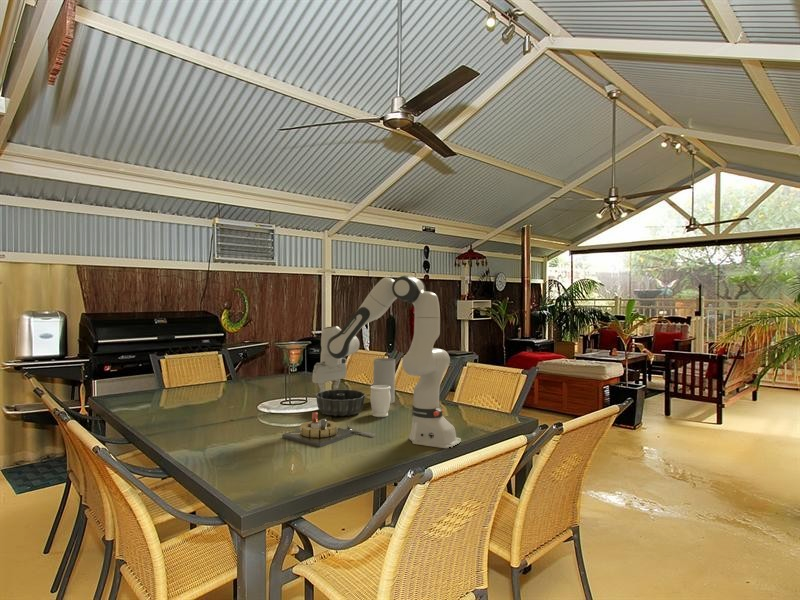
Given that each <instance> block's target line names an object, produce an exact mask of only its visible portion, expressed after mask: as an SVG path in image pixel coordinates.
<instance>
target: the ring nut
mask: <svg viewBox="0 0 800 600" xmlns="http://www.w3.org/2000/svg"><path fill="white" fill-rule="evenodd" d="M318 416H319V414H318V412H316V411H314V412H311V421H306V422H302V423H301V424H300V425H299V429H300V434H301V435H303V436H306V437H317V438H319V437H329V436H332V435H335V434H336V433H337V432H338V428H339V425H338V423H337V422H335V421H332V420H327V419H326V418H321V419H320V420H318ZM313 422H321V428H311V423H313ZM326 425H327V427H326Z"/></svg>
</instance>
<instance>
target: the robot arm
mask: <svg viewBox="0 0 800 600" xmlns="http://www.w3.org/2000/svg"><path fill="white" fill-rule="evenodd" d="M426 290H427V289H426V285H425V283H424V281H423V280H421V278H419V277H415V276H413V275H401V276H399V277H397V278H396V279H394V278H391V277H389V276H388V277H387V276H386V277H383V278H381V279H380V280H379V281H378V282H377V283H376V284H375V285H374V287H373V288H371V290H370V292H369V293H368V294H367V296H366V297H365V298H364V300H363V301H362V304H361V305H360V306H359V307H358V309H357V310H356V311H355V313H353V315H352V316H351V318H350V319H349V320H348V321H347V322H346V323H345V325H344V326H343V328H340V327H339V325H334V326H326V327H324V328H323V329H322V331H321V339H320V347H321V351H320V362H316V363H315V364H314V366H313V370H312V377H311V378H312V379H311V382H312V383H313V384H317V385H318V388H319V392H325V391H326V388H325V387H324V384H325V383H328V382H331V381H335V382H334V384H333V390H336V389H339V385H340V383H341V380H342V379H345V378H346V377H347V373H348V372H347V371H348V370H347V363H348V362H347V361H348V360H347V358H344V357H347V356H350V355H353V354H355V353H357V352H358V351H359V349H360V345H361V342H360V339H359V338H358V337H357V335H358V333H359V332H360V331H361V329H362V328H363V327H364V326H366V325H368V324H369V323H371V322H373V321H376V320H378V319H380V318H381V317H382V316H383V315H385V313H386V312H387V311H388V310H389V308H390V307H391V306H392V304H393V303H394V302H395V301H396V300H397V299H399V300H400V301H403V302H406V303H409V304H412V305H413V308H414V319H413V320H414V327H413V336H412V341H411V344H410V347H409V349H408V351H407V352H406V354H405V355H404V356H403V357H402V363H401V364H402V369H403V371H404V372H405V373H406V374H407V375H408V376H415V377H419V379H418V381H417V383H416V384H415V385H414V387H413V401H412V403H413V404H412V410H411V411H412V412H411V415H412V417H411V418H412V424H411V429H410V434H409V437H408V439H409V440H410V441H411V442H412V444H413V445H418V446H419V445H420V446H425V447H434V448H440V449H450V448H449V447H451V448H454V447H453V446H455V445H457V444H459V443H460V442H461V443H462V439H461V437H457V433H456V429H455V426H454V425H453V424H451V422H450V421H449V420H447V419H446V418H445V417H444V416H443V413H444V412H445V409H444V408H443V409H441V407H440V388H441V384H442V380H443V377H444V374H445V372H446V370H447V369H448V368H449V367H450V364H451V358H450V355H449V353H448V352H447V351H446V350H444V349H443V348H442V349H441V348H437V347H434V345H435V343H436V341H437V340H438V338H439V337H440V334H441V311H440V309H441V308H440V301H439V298H438V295H437V294H436V293H434V292H432V291H426ZM461 443H460V444H461ZM460 444H459V445H460ZM457 446H458V445H457ZM455 447H456V446H455Z"/></svg>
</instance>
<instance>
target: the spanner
mask: <svg viewBox="0 0 800 600" xmlns="http://www.w3.org/2000/svg"><path fill="white" fill-rule="evenodd" d="M346 427H347V428H345V429H346V430H351V431H354V433H356V435H359V434H361V435H360V436H364V437H368V436H369V438H375V437H376V433H372V432H368V431H363V430H358V429H354V428H352V427H350V425H347V426H346Z"/></svg>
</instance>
